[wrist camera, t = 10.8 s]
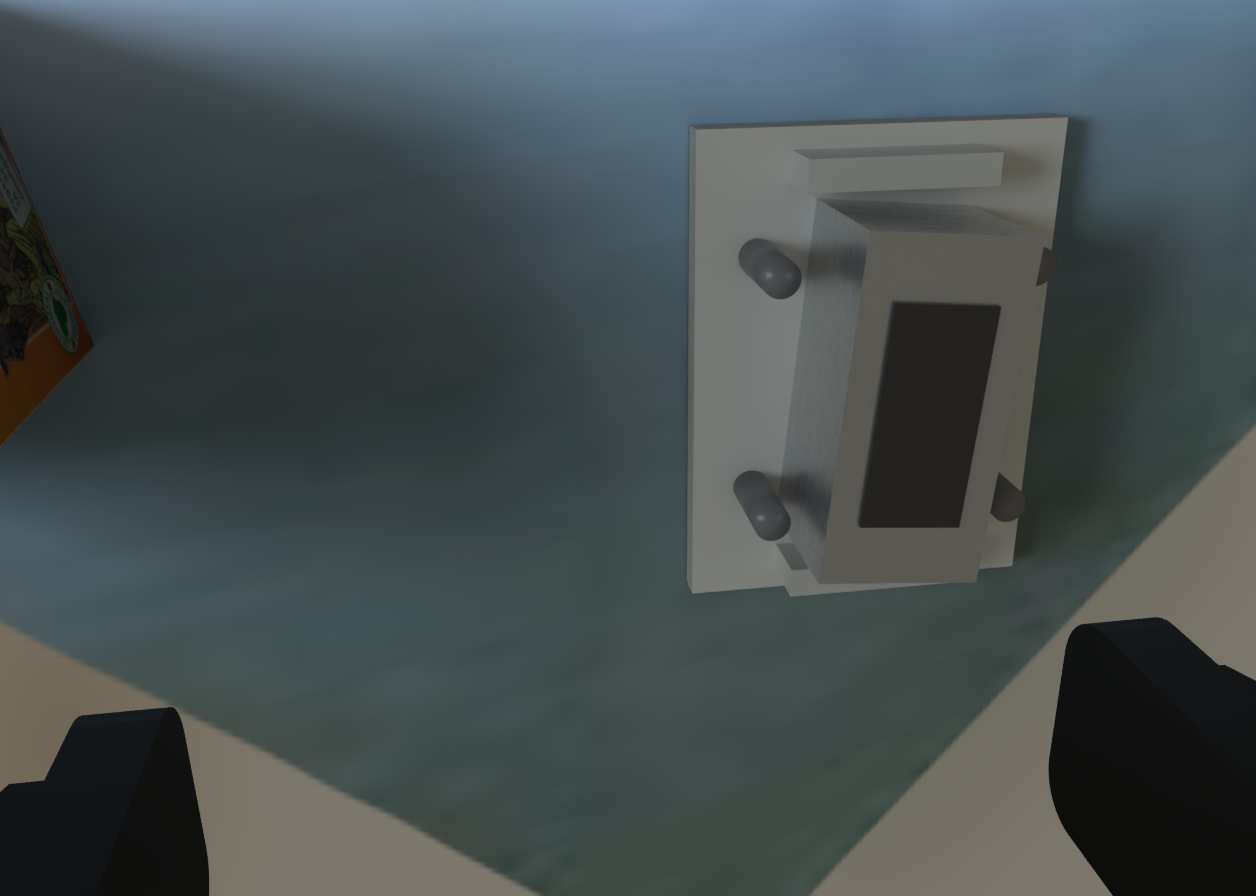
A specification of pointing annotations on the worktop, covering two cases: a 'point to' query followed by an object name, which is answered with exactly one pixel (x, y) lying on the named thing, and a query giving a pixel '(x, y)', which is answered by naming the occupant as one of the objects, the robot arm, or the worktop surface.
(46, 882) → the robot arm
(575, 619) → the worktop surface
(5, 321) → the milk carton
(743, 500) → the tray
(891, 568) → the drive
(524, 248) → the worktop surface
